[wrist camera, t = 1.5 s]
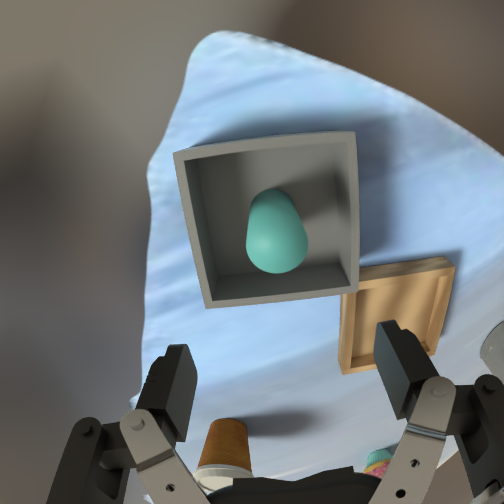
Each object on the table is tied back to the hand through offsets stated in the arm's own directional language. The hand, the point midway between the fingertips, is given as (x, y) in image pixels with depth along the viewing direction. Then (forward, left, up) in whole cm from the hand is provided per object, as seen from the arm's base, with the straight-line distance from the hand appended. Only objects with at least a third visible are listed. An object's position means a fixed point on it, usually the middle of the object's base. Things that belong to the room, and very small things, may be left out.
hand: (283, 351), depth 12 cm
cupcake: (-19, +57, -21) cm, 63 cm away
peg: (0, 0, -19) cm, 19 cm away
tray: (-14, +15, -20) cm, 29 cm away
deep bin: (0, 0, -20) cm, 20 cm away
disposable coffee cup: (+11, +37, -21) cm, 43 cm away
